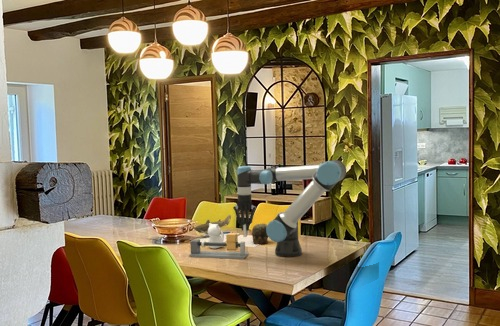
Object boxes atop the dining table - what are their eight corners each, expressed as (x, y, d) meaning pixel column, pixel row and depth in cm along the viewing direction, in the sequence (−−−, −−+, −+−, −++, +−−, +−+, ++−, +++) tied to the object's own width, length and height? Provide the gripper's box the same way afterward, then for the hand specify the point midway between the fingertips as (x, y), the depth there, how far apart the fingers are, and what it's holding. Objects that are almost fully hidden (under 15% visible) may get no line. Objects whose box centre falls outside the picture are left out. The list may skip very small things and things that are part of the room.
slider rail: (248, 254, 285) (248, 239, 284) (244, 259, 275) (243, 243, 275) (195, 252, 293) (195, 238, 292) (189, 256, 283) (188, 242, 283)
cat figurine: (204, 248, 303) (203, 224, 302) (217, 244, 313) (216, 220, 312) (216, 250, 298) (215, 225, 297) (229, 245, 308) (227, 221, 307)
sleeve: (237, 248, 283) (237, 233, 283) (235, 250, 279) (234, 235, 278) (229, 248, 285) (228, 233, 284) (226, 250, 280) (226, 234, 279)
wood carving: (235, 230, 354) (235, 215, 353) (199, 239, 327) (199, 223, 327) (226, 229, 360) (226, 214, 359) (190, 238, 333) (189, 221, 333)
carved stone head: (273, 242, 314) (272, 223, 313) (261, 245, 306) (260, 226, 305) (260, 240, 321) (259, 221, 321) (248, 243, 313) (247, 224, 313)
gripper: (257, 193, 280) (258, 235, 281) (235, 193, 283) (236, 234, 285) (254, 195, 272) (255, 238, 274) (231, 194, 276) (232, 237, 277)
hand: (245, 236), depth 279 cm, fingers closed
